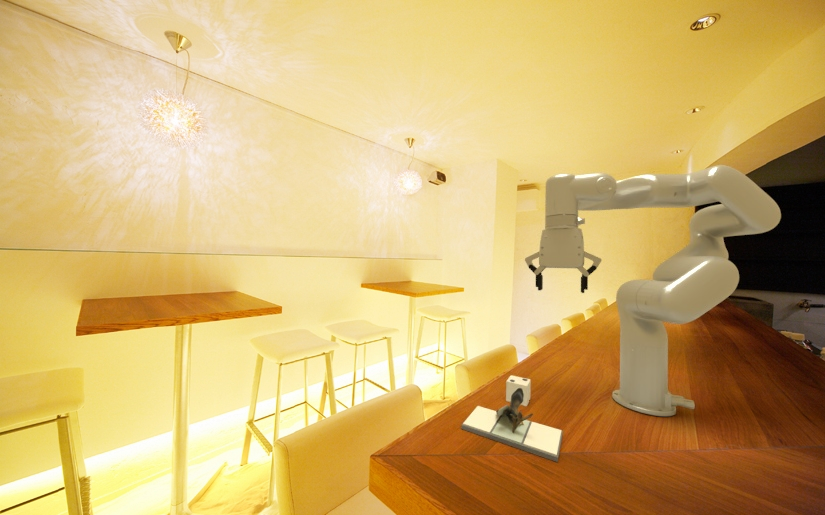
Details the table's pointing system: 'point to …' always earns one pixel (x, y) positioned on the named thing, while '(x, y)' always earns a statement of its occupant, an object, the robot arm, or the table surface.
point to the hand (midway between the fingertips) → (560, 291)
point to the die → (516, 383)
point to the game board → (515, 433)
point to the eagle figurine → (514, 410)
